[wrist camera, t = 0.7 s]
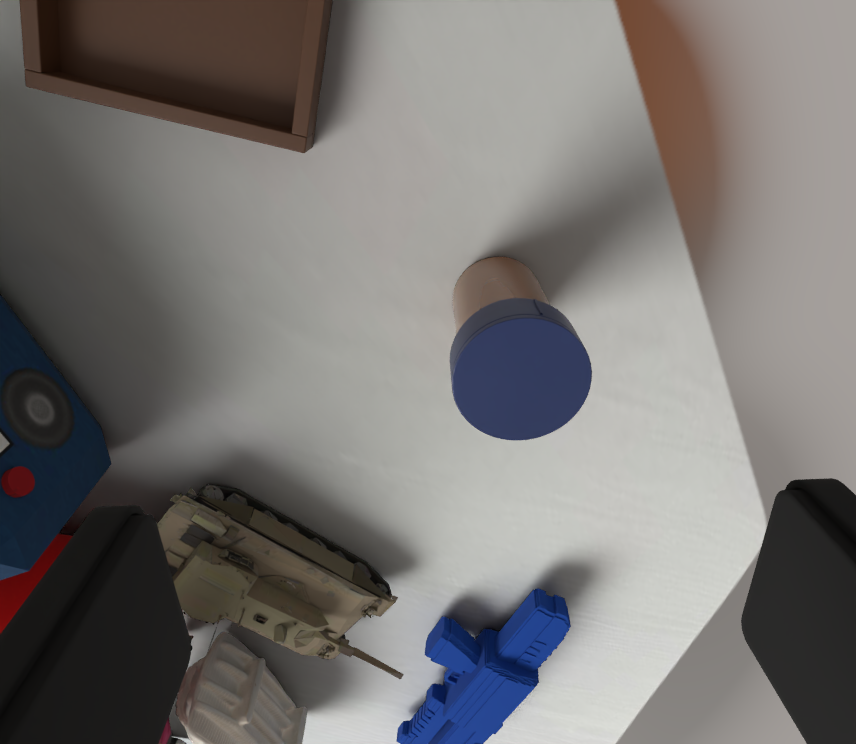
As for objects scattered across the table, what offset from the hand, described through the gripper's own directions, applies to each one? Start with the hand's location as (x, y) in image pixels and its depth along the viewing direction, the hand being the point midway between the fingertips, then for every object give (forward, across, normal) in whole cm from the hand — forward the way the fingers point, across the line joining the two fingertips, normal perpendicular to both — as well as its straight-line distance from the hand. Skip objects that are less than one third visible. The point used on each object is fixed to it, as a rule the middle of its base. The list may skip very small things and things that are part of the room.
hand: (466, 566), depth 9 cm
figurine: (+25, +13, +39) cm, 48 cm away
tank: (+29, +12, +27) cm, 41 cm away
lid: (+18, -4, +6) cm, 19 cm away
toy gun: (+27, +2, +36) cm, 45 cm away
